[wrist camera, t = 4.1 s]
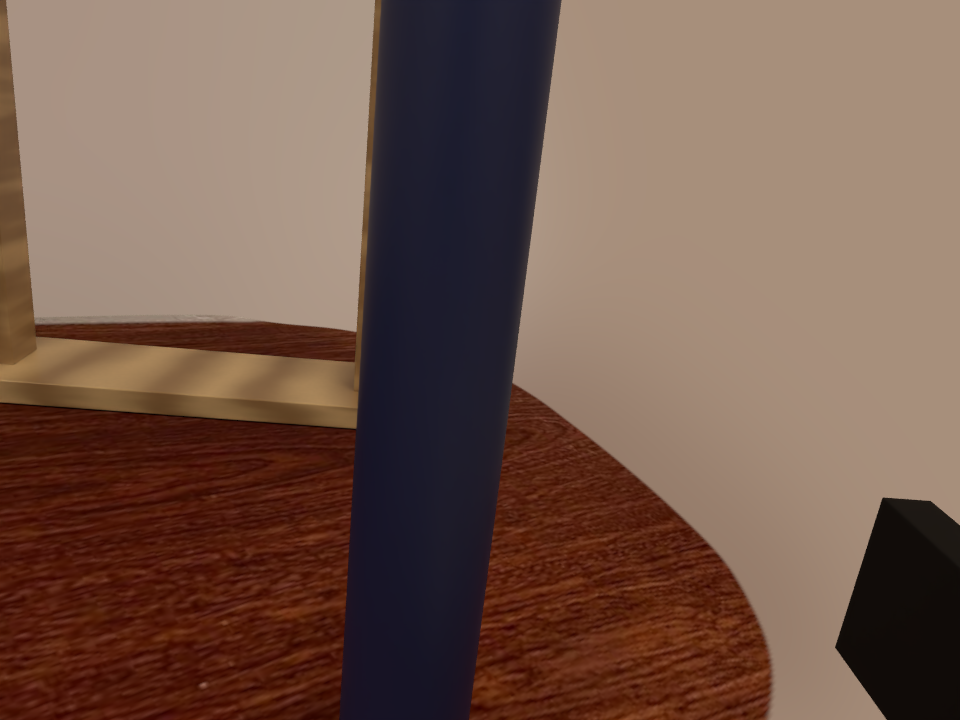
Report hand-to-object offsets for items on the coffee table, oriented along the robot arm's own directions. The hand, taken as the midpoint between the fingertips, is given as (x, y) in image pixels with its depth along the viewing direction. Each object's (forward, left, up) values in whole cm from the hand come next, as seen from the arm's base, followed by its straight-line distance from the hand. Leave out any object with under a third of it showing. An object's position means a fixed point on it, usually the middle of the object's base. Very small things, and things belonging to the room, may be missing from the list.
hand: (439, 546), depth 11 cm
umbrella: (+8, -9, -14) cm, 19 cm away
